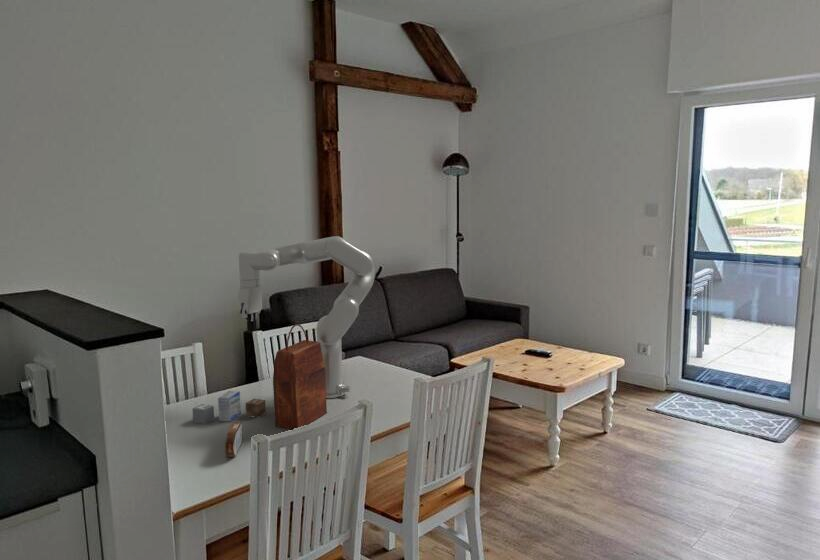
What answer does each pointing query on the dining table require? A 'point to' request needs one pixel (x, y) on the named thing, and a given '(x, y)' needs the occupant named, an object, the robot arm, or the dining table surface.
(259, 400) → the walnut block
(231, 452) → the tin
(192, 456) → the dining table surface
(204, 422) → the slate-grey block
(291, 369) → the handbag
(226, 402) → the medicine box
